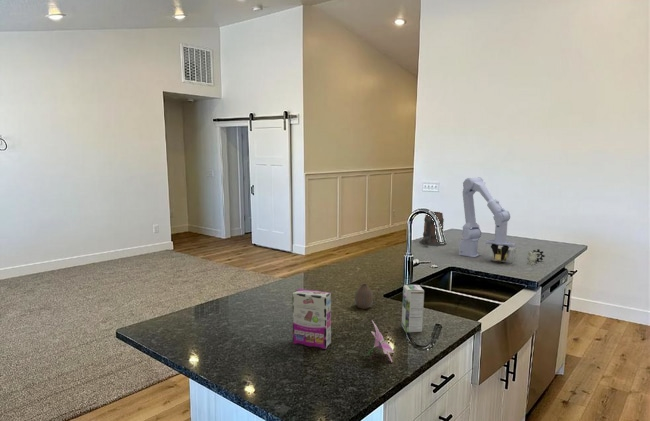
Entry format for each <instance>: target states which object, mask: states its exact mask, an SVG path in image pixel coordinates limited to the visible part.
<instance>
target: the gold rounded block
mask: <svg viewBox="0 0 650 421" xmlns="http://www.w3.org/2000/svg"><path fill="white" fill-rule="evenodd" d="M501 257H502V250H500V251H497V253H496V254H495V260H499V261H498V262H500V261H504V260H505V259H506V257H507V255H506V254H505V257H504V260H501Z"/></svg>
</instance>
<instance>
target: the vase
mask: <svg viewBox="0 0 650 421" xmlns="http://www.w3.org/2000/svg"><path fill="white" fill-rule="evenodd" d="M354 294H355V295H354V303H355V305H356V306H357V307H358V308H359V309H364V310H366V309H369V308H370V307H372V305H373V301H374V294H373V291H372V290H371V289H370V288H369V286H368V284H366V283H361V284H360V286H359V287H358V289H357V290H356V292H355V293H354Z"/></svg>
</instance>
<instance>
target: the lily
mask: <svg viewBox="0 0 650 421" xmlns="http://www.w3.org/2000/svg"><path fill="white" fill-rule="evenodd" d="M371 322H372V324H373V326H374V329H375V331H371V334H372V336H374V338H375V340H374V345H373V347H372V348H371V349H369V351H368V352H367V354H366V356H367V357H369V355H370V353H371V352H372V350H374V348H378V349H379V350H381V351H383V354H384V355H386V356H388V358H389V360H390V361H391V363H392V362H393V359H392V357H391V354H390V353H393V354H395V352H394V350H393V348H392V347H391V345H390V344H389V342H388V339H385V338H384V336H383V335H382V332H380V329H379V328H378V326H377V325H376V323H375V322H374V320H371Z"/></svg>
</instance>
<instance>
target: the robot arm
mask: <svg viewBox="0 0 650 421" xmlns="http://www.w3.org/2000/svg"><path fill="white" fill-rule="evenodd" d="M462 186H463V187H462V188H463V189H462V200H463V201H462V202H463V209H464V220H465V224H464V225H463V226H462V231H461V236H462V238H461V239H460V241H459V249H458V250H459V252H458V255H459V256H464V257H465V256H466V257H469V258H476V257H479V256H481V254H480V253H478V248H479V240H480V238H481V236H482V231H481V227H480V225H479V223H477V222H476V221H477V220H476V212H475V211H476V210H475V200H474V194H475V193H476V192H478V193H479V194H480V195H481V196H482V197H483V198H484V200H485V201H486V202H487V204H486V205H487V207H488V209H489V210H490V212H491V213H492V215H493V216H492V217H493V220H494V225H495V227H494V228H495V229H494V240H493V239H486V240H485V244H486V245H490V249H491V250H493V253H494V259H495V254H496V253H497V251H498V246H499V245H500V246H503V247H502V257H501V260H504V257H505V254H506V252H507V250H508V249H509V247H512V248H516V243H514V242H508V241H507V236H508V235H507V234H508V222H509V221H510V219H511V214H510V212H509V211H508V210H505V208H504V207H503V206H502V204H500V200H498V199H496V198H495V199H494V198H493V196H492V194H491V192H490V191H489V189H488V188H487V186H486V182H485V181H484V179H483V178H482V177H467V178H466V179H464V180H463V181H462Z"/></svg>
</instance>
